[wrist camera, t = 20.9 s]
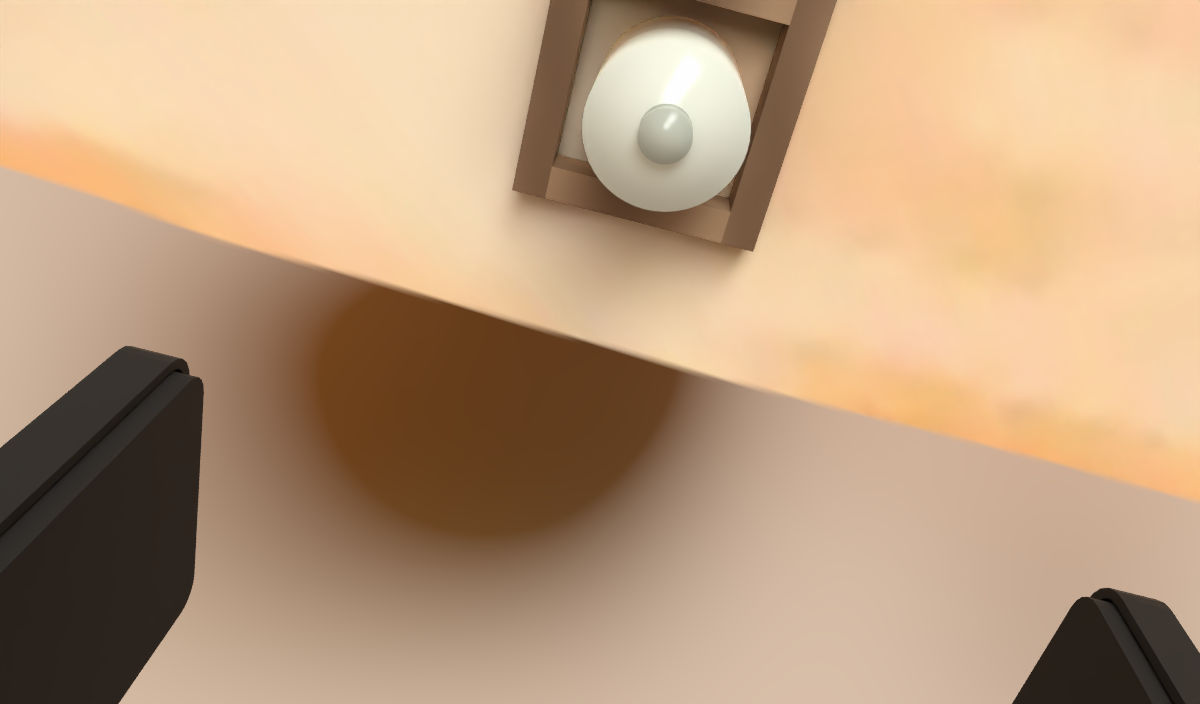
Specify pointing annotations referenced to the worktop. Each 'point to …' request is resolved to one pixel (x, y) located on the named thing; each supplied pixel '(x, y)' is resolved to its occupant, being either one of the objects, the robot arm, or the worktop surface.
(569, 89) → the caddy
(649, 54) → the sugar pot
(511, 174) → the worktop surface
